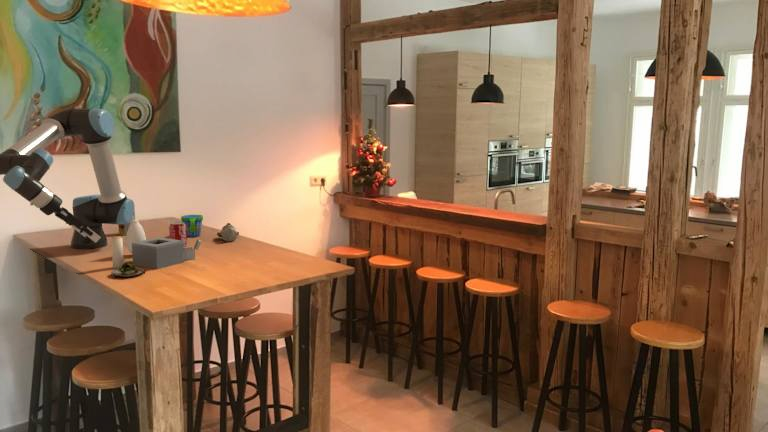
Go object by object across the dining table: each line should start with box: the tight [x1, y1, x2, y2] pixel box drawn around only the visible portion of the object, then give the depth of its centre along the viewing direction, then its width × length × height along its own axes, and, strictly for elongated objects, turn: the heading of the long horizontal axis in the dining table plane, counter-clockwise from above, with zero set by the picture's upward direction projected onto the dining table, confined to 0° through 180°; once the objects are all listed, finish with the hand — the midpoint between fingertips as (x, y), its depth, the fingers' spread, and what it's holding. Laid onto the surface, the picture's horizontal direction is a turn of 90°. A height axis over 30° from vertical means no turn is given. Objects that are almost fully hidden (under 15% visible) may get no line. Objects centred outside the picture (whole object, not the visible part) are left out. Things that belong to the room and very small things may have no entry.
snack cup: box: [180, 214, 204, 238], centre depth 304 cm, size 16×10×10 cm
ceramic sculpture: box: [216, 222, 240, 243], centre depth 297 cm, size 11×9×15 cm
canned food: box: [117, 210, 136, 236], centre depth 306 cm, size 8×8×12 cm
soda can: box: [168, 221, 188, 250], centre depth 269 cm, size 7×7×13 cm
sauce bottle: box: [125, 214, 147, 254], centre depth 260 cm, size 8×8×18 cm
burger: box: [110, 257, 146, 279], centre depth 229 cm, size 12×12×8 cm
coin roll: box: [110, 236, 125, 270], centre depth 239 cm, size 4×4×12 cm
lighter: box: [184, 239, 202, 261], centre depth 256 cm, size 7×2×8 cm, turn 128°
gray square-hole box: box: [131, 236, 185, 270], centre depth 247 cm, size 14×14×9 cm
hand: (92, 237), depth 232 cm, fingers open, 13 cm apart
